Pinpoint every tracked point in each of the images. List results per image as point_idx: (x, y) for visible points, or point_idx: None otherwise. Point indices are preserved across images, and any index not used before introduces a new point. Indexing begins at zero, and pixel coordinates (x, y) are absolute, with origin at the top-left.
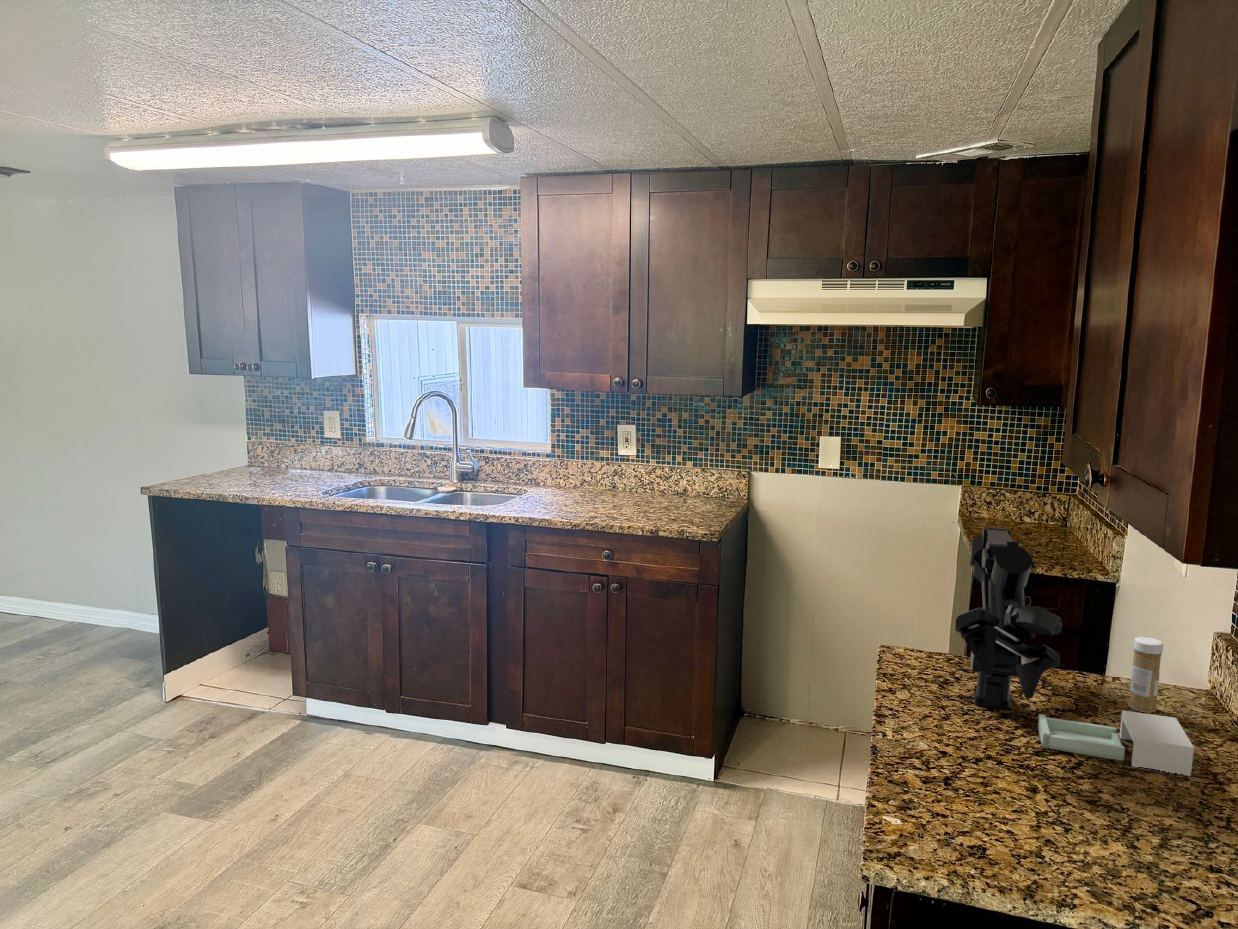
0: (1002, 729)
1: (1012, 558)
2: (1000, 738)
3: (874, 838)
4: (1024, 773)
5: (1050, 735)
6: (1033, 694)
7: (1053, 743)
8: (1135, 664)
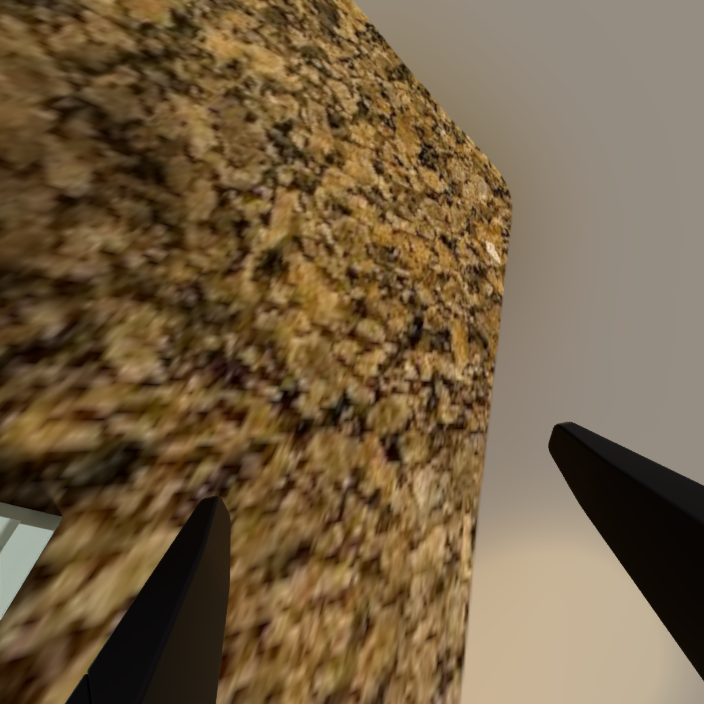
0: None
1: None
2: None
3: (509, 225)
4: (250, 337)
5: (9, 533)
6: (190, 519)
7: (8, 509)
8: None
